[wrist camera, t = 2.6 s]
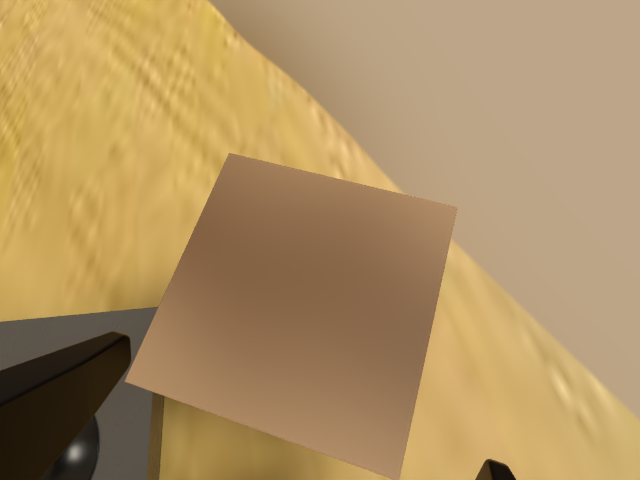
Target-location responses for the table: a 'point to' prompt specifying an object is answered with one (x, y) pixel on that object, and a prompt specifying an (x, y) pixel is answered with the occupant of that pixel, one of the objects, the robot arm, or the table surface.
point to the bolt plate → (117, 410)
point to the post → (303, 311)
